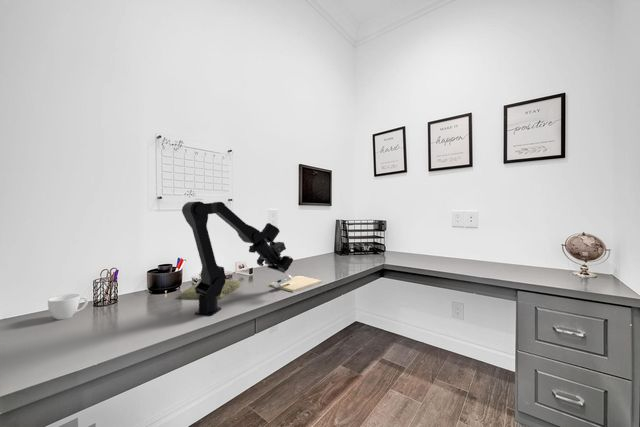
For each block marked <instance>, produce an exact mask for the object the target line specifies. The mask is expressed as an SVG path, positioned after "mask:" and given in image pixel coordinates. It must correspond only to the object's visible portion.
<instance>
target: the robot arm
mask: <svg viewBox="0 0 640 427" xmlns="http://www.w3.org/2000/svg"><path fill="white" fill-rule="evenodd" d="M181 211H182V215H183V217H184V219H185V221H186V223H187V224H188V225H189V227H190V229H191V230H192V234H193V236H194V237H193V238H194V242H195V244H196V248H197V252H198V257H199V259H200V263H201V272H200V281H199V284H198V283H197V284H198V285H197V284H196V285H197V286H196V287H195V291H196V293H197V294H200V296H199V299H198V310H197V311H196V312H194V314H195V315H200V316H201V315H202V316H213V315H215V314H216V313H218V312H219V311H221V310H222V306H221V307H220V306H219V307H218V303H219V302H218V300H219V299H218V296H219V295H221V292H222V288H223V286H224V284H225V282H226V281H225V280H226V278H228V277H227V276H226V274H225V272H226V271H225V267H224V266H220V265H218V264H217V260H216V257H215V254H214V250H213V246H212V241H211V238H210V235H209V230H208V226H207V225H208V221H209V220H208V219H209V215H212V214H215V215H217V217H219V219H221V220H223V221H224V222H225V223H226V224H227V225H229V226H230V227H231V228H232V229H234V230H235V231H236V233H237V235H238V237H239V238H240V239H241V241H243V242H244V243H247V244H252V245H249V246H248V248H249V249H248V252H249V253H252V254H255V253H257V254H258V256H259V257H258V258H257V259H256V264H257V265H258V266H260V267H264V264H265V265H267V269H271V270H273V271H277V272H280V273H282V274H285V273H286V271H288V270H289V267H290V266H291V265H292V263H293V261H294V258H293V257H292V256H290V255H283V256H281V255H282V252H283V251H286V249H287V248H286V245H285V242H282V241H275V239H276V238H277V237H278V235H279V233H280V232H281V231H280V229H279V228H278V227H276V226H275V225H273V224H271V222H268V223H266V224H265V226H264V227H263V229H262V230H261V231H260V229H257V228H256V227H254V226H252V225H249V224H247V223H246V222H245V221H243V220H242V219H241V218H240V217H239V216H238V215H237V214H236V213H234V212H233V211H232V210H231V209H230V208H229V207H228V206H226V204H225V202H223V201H213V202H209V203H204V202H203V201H188V202H186V203H184V205H183V206H182V208H181Z"/></svg>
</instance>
